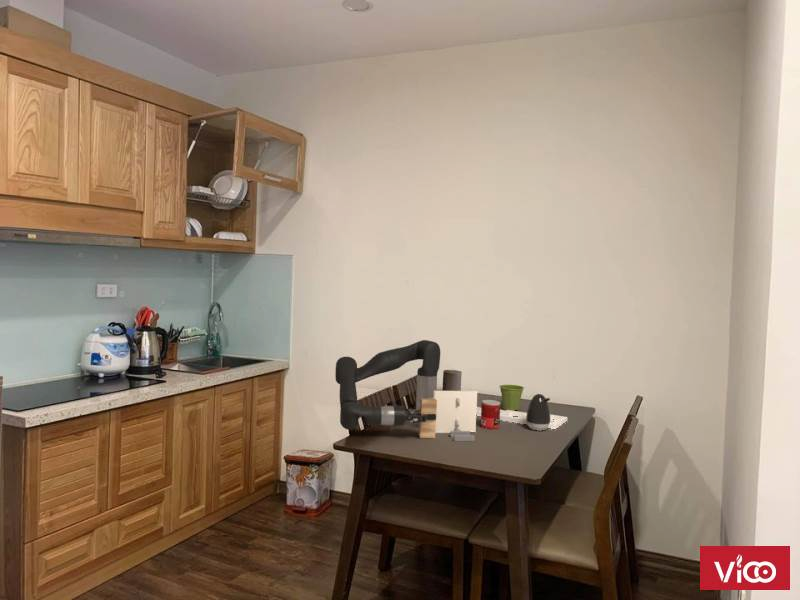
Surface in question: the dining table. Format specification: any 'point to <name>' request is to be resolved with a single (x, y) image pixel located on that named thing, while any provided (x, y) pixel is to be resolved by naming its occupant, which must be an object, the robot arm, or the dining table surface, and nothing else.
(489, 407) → the canned food
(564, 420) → the holder
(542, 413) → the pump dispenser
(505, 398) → the plant pot
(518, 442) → the dining table surface
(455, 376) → the pillar candle
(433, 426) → the tall wooden block
